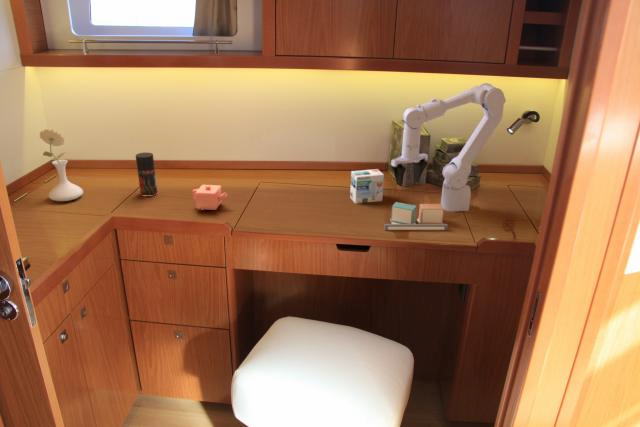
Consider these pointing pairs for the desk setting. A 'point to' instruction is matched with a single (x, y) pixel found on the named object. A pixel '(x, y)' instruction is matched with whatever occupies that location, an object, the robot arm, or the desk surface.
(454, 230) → the desk surface
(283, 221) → the desk surface
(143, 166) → the deodorant
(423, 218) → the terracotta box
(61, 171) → the flower in vase
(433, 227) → the shelf board
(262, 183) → the desk surface
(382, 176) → the light bulb box
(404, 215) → the teal box
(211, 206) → the pink cube teapot
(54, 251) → the desk surface
